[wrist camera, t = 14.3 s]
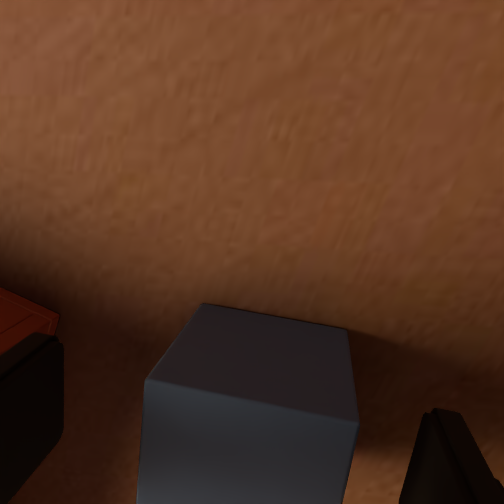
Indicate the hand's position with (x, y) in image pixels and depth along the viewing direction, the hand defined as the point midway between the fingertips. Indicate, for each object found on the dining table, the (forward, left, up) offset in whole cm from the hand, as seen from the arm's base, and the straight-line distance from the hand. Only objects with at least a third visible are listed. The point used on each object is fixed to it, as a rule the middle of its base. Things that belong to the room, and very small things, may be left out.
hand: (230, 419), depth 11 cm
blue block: (-1, 0, -3) cm, 3 cm away
